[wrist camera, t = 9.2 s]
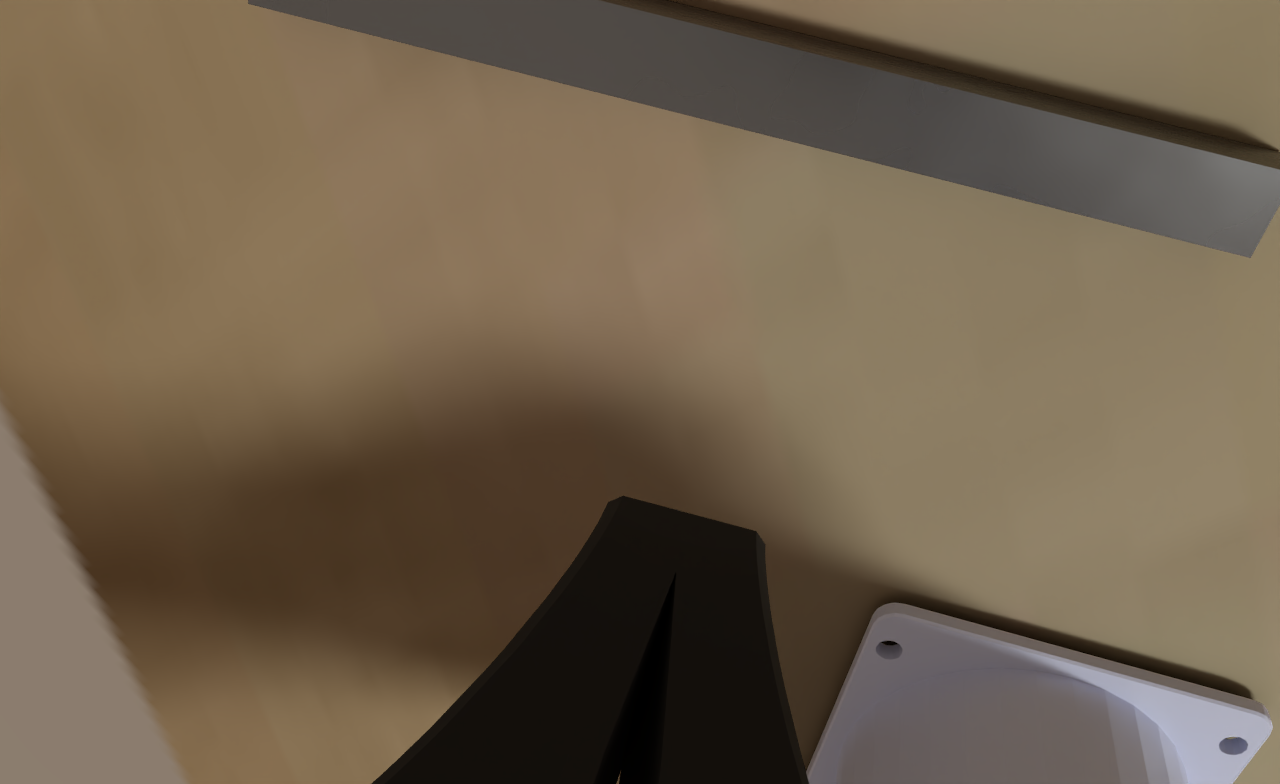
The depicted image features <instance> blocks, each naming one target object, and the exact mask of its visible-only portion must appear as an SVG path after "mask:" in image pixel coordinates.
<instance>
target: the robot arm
mask: <svg viewBox="0 0 1280 784" xmlns="http://www.w3.org/2000/svg"><path fill="white" fill-rule="evenodd" d="M883 641H894V642H896V643H898V644H896V645H893V646H891V645H885V644H883V643H881V642H883ZM1272 729H1273V727H1272V722H1271V719H1270V716H1269V712H1268V709H1267V708H1266V707H1265V706H1264V705H1263V704H1262V703H1259V702H1257V701H1255V700H1252V699H1249V698H1245V697H1241V696H1238V695H1234V694H1230V693H1227V692H1223V691H1219V690H1216V689H1212V688H1209V687H1205V686H1201V685H1198V684H1194V683H1190V682H1187V681H1183V680H1180V679H1176V678H1172V677H1169V676H1165V675H1161V674H1158V673H1154V672H1151V671H1147V670H1143V669H1140V668H1136V667H1132V666H1129V665H1125V664H1121V663H1118V662H1114V661H1111V660H1107V659H1103V658H1100V657H1096V656H1092V655H1089V654H1085V653H1082V652H1078V651H1074V650H1071V649H1067V648H1063V647H1060V646H1056V645H1053V644H1049V643H1045V642H1042V641H1038V640H1034V639H1031V638H1027V637H1023V636H1020V635H1016V634H1013V633H1009V632H1005V631H1002V630H998V629H994V628H991V627H987V626H984V625H980V624H976V623H973V622H969V621H965V620H962V619H958V618H954V617H951V616H947V615H944V614H940V613H936V612H933V611H929V610H925V609H922V608H918V607H915V606H911V605H907V604H902V603H889V604H885V605H883V606H881V607H879V608H877V610H876V611H875V612H874V614H873V615H872V618H871V620H870V622H869V625H868V627H867V629H866V632H865V634H864V637H863V639H862V641H861V644H860V646H859V648H858V651H857V653H856V655H855V658H854V660H853V662H852V665H851V667H850V670H849V672H848V674H847V677H846V679H845V681H844V684H843V686H842V688H841V691H840V693H839V695H838V698H837V700H836V703H835V705H834V707H833V710H832V712H831V714H830V717H829V719H828V721H827V724H826V726H825V729H824V731H823V733H822V736H821V738H820V740H819V743H818V745H817V747H816V750H815V752H814V754H813V757H812V759H811V762H810V764H809V766H808V769H807V771H806V770H805V767H804V763H803V759H802V756H801V752H800V748H799V744H798V740H797V736H796V732H795V728H794V724H793V720H792V715H791V711H790V707H789V703H788V699H787V695H786V691H785V687H784V682H783V677H782V672H781V668H780V663H779V658H778V652H777V647H776V641H775V635H774V630H773V624H772V618H771V611H770V604H769V596H768V587H767V577H766V564H765V544H764V542H763V541H762V539H761V538H760V536H759V535H758V533H757V532H756V531H753V530H749V529H745V528H742V527H738V526H734V525H730V524H727V523H723V522H719V521H715V520H712V519H708V518H704V517H700V516H697V515H693V514H689V513H685V512H682V511H678V510H674V509H670V508H667V507H663V506H659V505H655V504H652V503H648V502H644V501H640V500H637V499H633V498H629V497H625V496H621V497H619V498H617V499H615V500H612V501H610V502H608V504H607V506H606V508H605V510H604V512H603V514H602V516H601V518H600V520H599V522H598V524H597V525H596V527H595V529H594V530H593V532H592V534H591V535H590V537H589V539H588V540H587V542H586V543H585V545H584V547H583V548H582V550H581V551H580V553H579V554H578V555H577V557H576V558H575V560H574V561H573V563H572V564H571V566H570V567H569V568H568V570H567V571H566V572H565V574H564V575H563V576H562V578H561V579H560V580H559V582H558V583H557V585H556V586H555V587H554V589H553V590H552V591H551V593H550V594H549V595H548V597H547V598H546V599H545V600H544V601H543V603H542V604H541V605H540V606H539V608H538V609H537V610H536V611H535V612H534V614H533V615H532V616H531V617H530V618H529V620H528V621H527V622H526V623H525V624H524V626H523V627H522V628H521V629H520V631H519V632H518V633H517V634H516V635H515V637H514V638H513V639H512V640H511V641H510V643H509V644H508V645H507V646H506V647H505V649H504V650H503V651H502V652H501V653H500V654H499V656H498V657H497V658H496V659H495V660H494V661H493V662H492V663H491V665H490V666H489V667H488V668H487V669H486V670H485V671H484V672H483V673H482V674H481V675H480V676H479V677H478V678H477V679H476V681H475V682H474V683H473V684H472V685H471V686H470V687H469V688H468V689H467V690H466V691H465V692H464V693H463V694H462V695H461V696H460V697H459V698H458V700H457V701H456V702H455V703H454V704H453V705H452V706H451V707H450V708H449V709H448V710H447V711H446V712H445V713H444V714H443V715H442V716H441V717H440V719H439V720H438V721H437V722H436V723H435V724H434V725H433V726H432V727H431V728H430V729H429V730H428V731H427V732H426V733H425V734H424V735H423V736H422V737H421V738H420V739H419V740H418V741H417V742H415V743H414V744H413V745H412V746H411V747H410V748H409V749H408V750H407V751H406V752H405V753H404V754H403V755H402V756H401V757H400V758H399V759H398V760H397V761H396V762H395V763H394V764H392V765H391V766H390V767H389V768H388V769H387V770H386V771H385V772H384V773H383V774H382V775H381V776H380V777H378V778H377V779H376V780H375V781H374V782H373V783H372V784H616V783H617V780H618V777H619V774H620V771H621V774H620V781H619V784H1233V782H1234V781H1235V780H1236V778H1237V777H1238V776H1239V775H1240V773H1241V772H1242V771H1243V769H1244V768H1245V767H1246V765H1247V764H1248V763H1249V762H1250V760H1251V759H1252V758H1253V756H1254V755H1255V754H1256V752H1257V751H1258V750H1259V749H1260V747H1261V746H1262V745H1263V743H1264V742H1265V741H1266V739H1267V738H1268V737H1269V736H1270V734H1271V731H1272ZM1228 737H1238V738H1234V739H1225V738H1228Z"/></svg>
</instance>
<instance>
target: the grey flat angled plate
mask: <svg viewBox="0 0 1280 784" xmlns="http://www.w3.org/2000/svg"><path fill="white" fill-rule="evenodd" d="M248 4H251V5H255V6H259V7H263V8H267V9H271V10H275V11H279V12H283V13H287V14H291V15H295V16H299V17H302V18H306V19H310V20H314V21H318V22H322V23H326V24H330V25H334V26H338V27H342V28H346V29H350V30H354V31H358V32H362V33H366V34H370V35H373V36H377V37H381V38H385V39H389V40H393V41H397V42H401V43H405V44H409V45H413V46H417V47H421V48H425V49H429V50H433V51H437V52H440V53H444V54H448V55H452V56H456V57H460V58H464V59H468V60H472V61H476V62H480V63H484V64H488V65H492V66H496V67H500V68H504V69H508V70H511V71H515V72H519V73H523V74H527V75H531V76H535V77H539V78H543V79H547V80H551V81H555V82H559V83H563V84H567V85H571V86H575V87H579V88H582V89H586V90H590V91H594V92H598V93H602V94H606V95H610V96H614V97H618V98H622V99H626V100H630V101H634V102H638V103H642V104H646V105H650V106H653V107H657V108H661V109H665V110H669V111H673V112H677V113H681V114H685V115H689V116H693V117H697V118H701V119H705V120H709V121H713V122H717V123H720V124H724V125H728V126H732V127H736V128H740V129H744V130H748V131H752V132H756V133H760V134H764V135H768V136H772V137H776V138H780V139H784V140H788V141H791V142H795V143H799V144H803V145H807V146H811V147H815V148H819V149H823V150H827V151H831V152H835V153H839V154H843V155H847V156H851V157H855V158H859V159H862V160H866V161H870V162H874V163H878V164H882V165H886V166H890V167H894V168H898V169H902V170H906V171H910V172H914V173H918V174H922V175H926V176H929V177H933V178H937V179H941V180H945V181H949V182H953V183H957V184H961V185H965V186H969V187H973V188H977V189H981V190H985V191H989V192H993V193H997V194H1000V195H1004V196H1008V197H1012V198H1016V199H1020V200H1024V201H1028V202H1032V203H1036V204H1040V205H1044V206H1048V207H1052V208H1056V209H1060V210H1064V211H1068V212H1071V213H1075V214H1079V215H1083V216H1087V217H1091V218H1095V219H1099V220H1103V221H1107V222H1111V223H1115V224H1119V225H1123V226H1127V227H1131V228H1135V229H1139V230H1142V231H1146V232H1150V233H1154V234H1158V235H1162V236H1166V237H1170V238H1174V239H1178V240H1182V241H1186V242H1190V243H1194V244H1198V245H1202V246H1206V247H1209V248H1213V249H1217V250H1221V251H1225V252H1229V253H1233V254H1237V255H1241V256H1245V257H1249V258H1251V256H1252V254H1253V252H1254V250H1255V249H1256V247H1257V245H1258V243H1259V241H1260V240H1261V238H1262V236H1263V234H1264V232H1265V230H1266V229H1267V227H1268V225H1269V223H1270V221H1271V220H1272V218H1273V216H1274V214H1275V212H1276V211H1277V209H1278V207H1279V205H1280V152H1277V151H1273V150H1269V149H1265V148H1261V147H1257V146H1253V145H1249V144H1245V143H1241V142H1237V141H1233V140H1229V139H1224V138H1220V137H1216V136H1212V135H1208V134H1204V133H1200V132H1196V131H1192V130H1188V129H1184V128H1180V127H1176V126H1172V125H1168V124H1164V123H1160V122H1156V121H1152V120H1148V119H1144V118H1140V117H1136V116H1132V115H1128V114H1124V113H1120V112H1116V111H1112V110H1108V109H1104V108H1099V107H1095V106H1091V105H1087V104H1083V103H1079V102H1075V101H1071V100H1067V99H1063V98H1059V97H1055V96H1051V95H1047V94H1043V93H1039V92H1035V91H1031V90H1027V89H1023V88H1019V87H1015V86H1011V85H1007V84H1003V83H999V82H995V81H991V80H987V79H983V78H979V77H974V76H970V75H966V74H962V73H958V72H954V71H950V70H946V69H942V68H938V67H934V66H930V65H926V64H922V63H918V62H914V61H910V60H906V59H902V58H898V57H894V56H890V55H886V54H882V53H878V52H874V51H870V50H866V49H862V48H858V47H853V46H849V45H845V44H841V43H837V42H833V41H829V40H825V39H821V38H817V37H813V36H809V35H805V34H801V33H797V32H793V31H789V30H785V29H781V28H777V27H773V26H769V25H765V24H761V23H757V22H753V21H749V20H745V19H741V18H737V17H733V16H728V15H724V14H720V13H716V12H712V11H708V10H704V9H700V8H696V7H692V6H688V5H684V4H680V3H676V2H672V1H668V0H248Z"/></svg>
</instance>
